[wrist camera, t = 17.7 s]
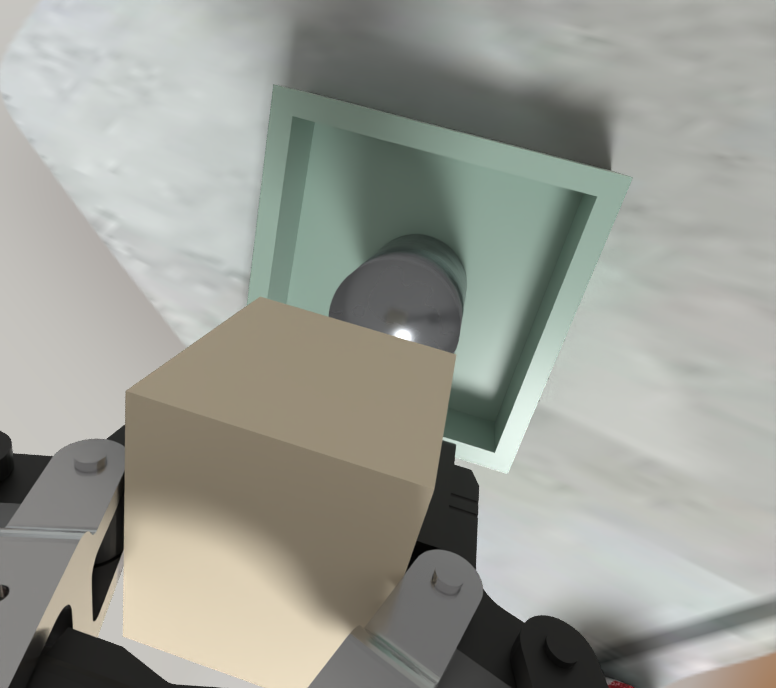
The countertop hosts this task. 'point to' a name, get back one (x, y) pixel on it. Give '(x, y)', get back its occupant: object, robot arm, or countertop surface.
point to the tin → (407, 292)
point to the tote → (450, 225)
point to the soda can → (616, 683)
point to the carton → (276, 488)
